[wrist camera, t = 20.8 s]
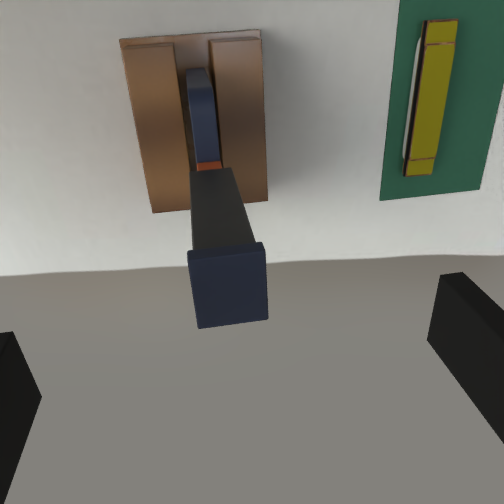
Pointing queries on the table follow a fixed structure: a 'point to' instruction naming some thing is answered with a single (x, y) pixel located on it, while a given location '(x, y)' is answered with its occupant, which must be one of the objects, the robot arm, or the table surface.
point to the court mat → (448, 96)
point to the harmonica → (428, 95)
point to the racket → (220, 227)
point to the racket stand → (178, 112)
